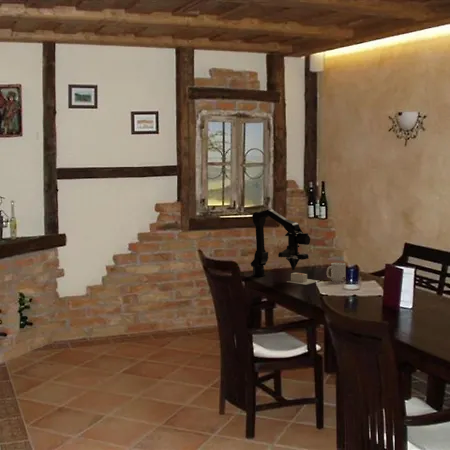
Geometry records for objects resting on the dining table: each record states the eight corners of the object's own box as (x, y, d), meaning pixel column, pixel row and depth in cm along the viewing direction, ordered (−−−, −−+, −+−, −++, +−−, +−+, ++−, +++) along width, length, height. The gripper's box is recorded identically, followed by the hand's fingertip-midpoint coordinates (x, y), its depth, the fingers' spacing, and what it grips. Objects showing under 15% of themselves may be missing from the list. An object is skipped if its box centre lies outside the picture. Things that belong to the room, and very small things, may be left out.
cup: (348, 281, 416) (348, 264, 415) (330, 282, 411) (330, 265, 410) (340, 278, 423) (340, 262, 422) (323, 280, 419) (323, 263, 418)
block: (290, 273, 419) (303, 274, 413) (295, 272, 422) (307, 273, 416) (290, 280, 420) (303, 281, 414) (295, 279, 423) (307, 280, 417)
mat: (286, 282, 416) (286, 281, 416) (301, 278, 426) (301, 278, 426) (305, 284, 406) (305, 284, 406) (320, 281, 416) (320, 280, 416)
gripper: (272, 244, 419) (272, 270, 421) (297, 246, 407) (297, 273, 408) (284, 242, 427) (284, 267, 429) (309, 244, 415) (309, 270, 416)
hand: (293, 269), depth 420 cm, fingers closed
